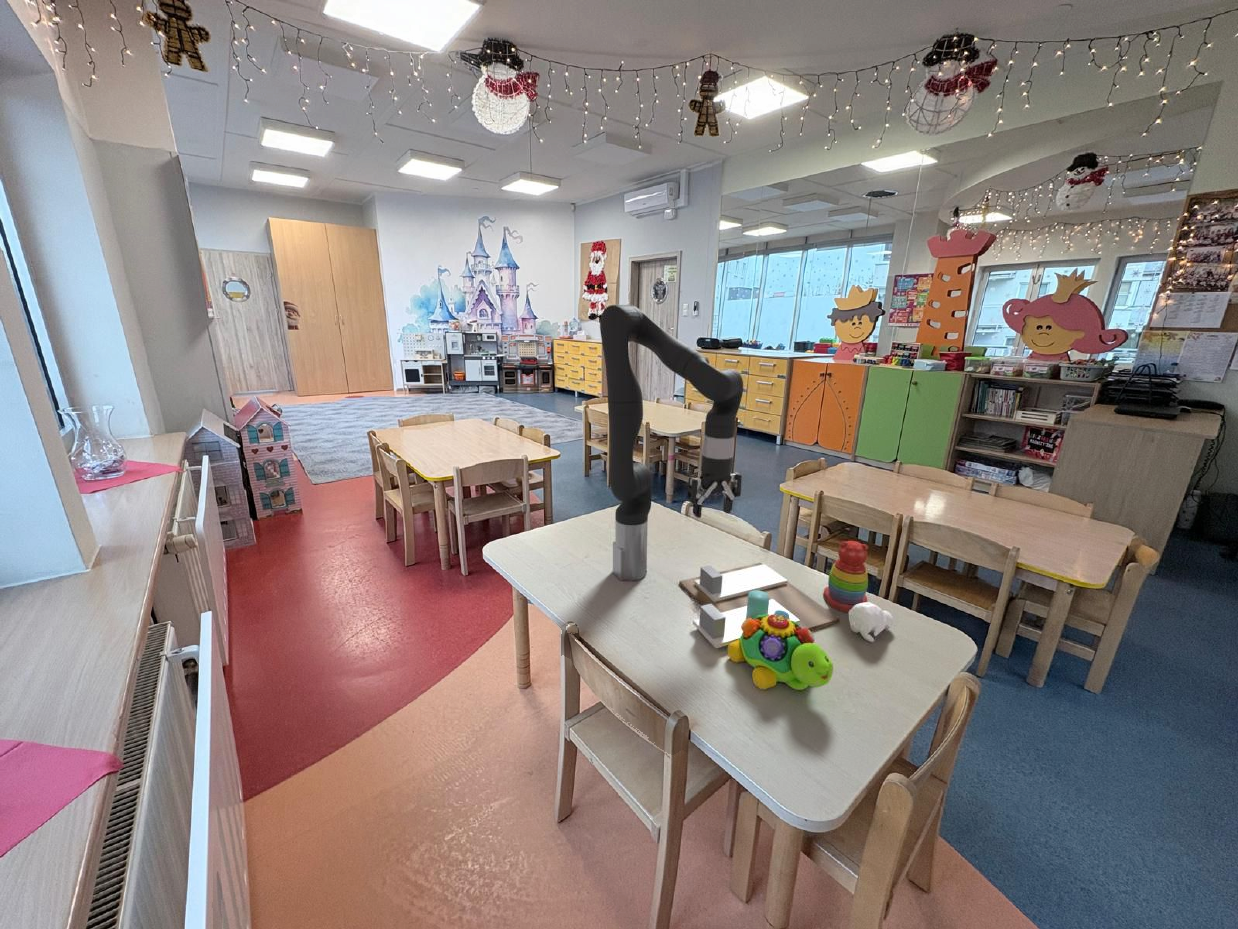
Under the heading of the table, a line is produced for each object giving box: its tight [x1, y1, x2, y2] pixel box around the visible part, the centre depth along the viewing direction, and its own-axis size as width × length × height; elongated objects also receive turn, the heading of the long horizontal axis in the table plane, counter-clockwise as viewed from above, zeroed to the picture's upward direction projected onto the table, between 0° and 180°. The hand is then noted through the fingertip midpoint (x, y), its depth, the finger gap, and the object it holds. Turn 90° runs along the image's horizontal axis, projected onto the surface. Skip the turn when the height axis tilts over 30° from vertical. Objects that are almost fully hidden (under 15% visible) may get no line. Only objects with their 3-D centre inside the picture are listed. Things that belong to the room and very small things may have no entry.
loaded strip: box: [692, 599, 800, 649], centre depth 121 cm, size 24×10×6 cm, turn 113°
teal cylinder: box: [746, 590, 770, 619], centre depth 122 cm, size 5×5×6 cm
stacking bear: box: [823, 540, 869, 613], centre depth 130 cm, size 11×10×18 cm
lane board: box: [678, 562, 841, 632], centre depth 133 cm, size 28×31×1 cm
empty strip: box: [694, 563, 788, 602], centre depth 139 cm, size 24×10×6 cm, turn 113°
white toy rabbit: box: [848, 601, 894, 643], centre depth 120 cm, size 6×8×12 cm
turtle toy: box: [727, 610, 834, 691], centre depth 106 cm, size 17×23×12 cm
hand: (712, 514), depth 126 cm, fingers open, 8 cm apart
